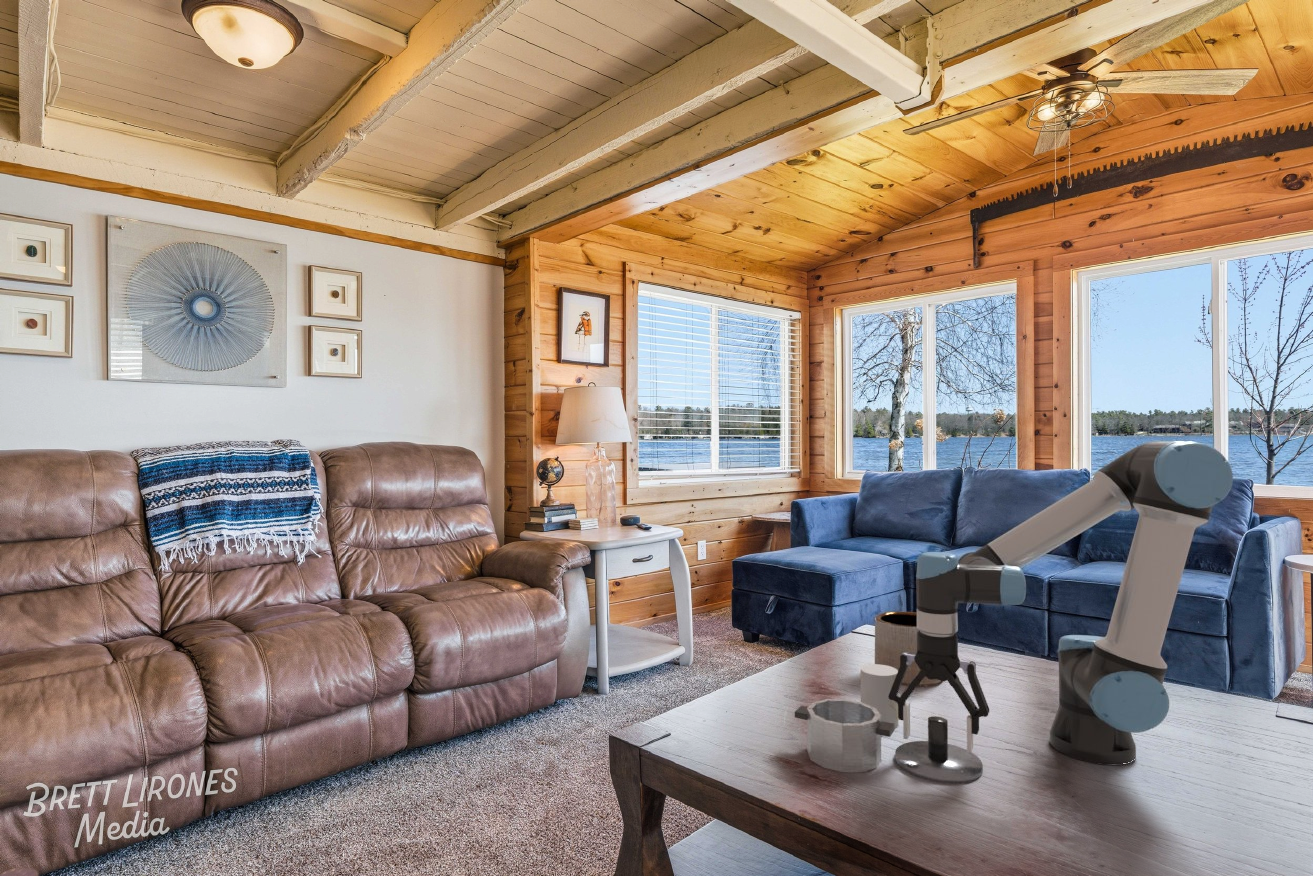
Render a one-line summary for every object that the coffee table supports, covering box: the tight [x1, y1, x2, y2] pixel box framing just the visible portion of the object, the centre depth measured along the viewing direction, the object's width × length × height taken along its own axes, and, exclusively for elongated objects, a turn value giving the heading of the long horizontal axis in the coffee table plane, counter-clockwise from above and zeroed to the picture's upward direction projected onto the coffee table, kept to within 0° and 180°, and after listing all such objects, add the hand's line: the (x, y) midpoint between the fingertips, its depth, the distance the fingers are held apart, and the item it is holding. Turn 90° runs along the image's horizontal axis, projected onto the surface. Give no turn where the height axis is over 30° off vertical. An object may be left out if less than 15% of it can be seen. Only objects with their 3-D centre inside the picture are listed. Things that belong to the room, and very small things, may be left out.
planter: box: [874, 611, 942, 687], centre depth 192 cm, size 18×18×16 cm
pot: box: [794, 698, 895, 773], centre depth 144 cm, size 19×14×9 cm
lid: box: [894, 716, 984, 784], centre depth 140 cm, size 16×16×9 cm
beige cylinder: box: [860, 663, 900, 729], centre depth 161 cm, size 8×8×12 cm
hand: (937, 743), depth 140 cm, fingers open, 11 cm apart
